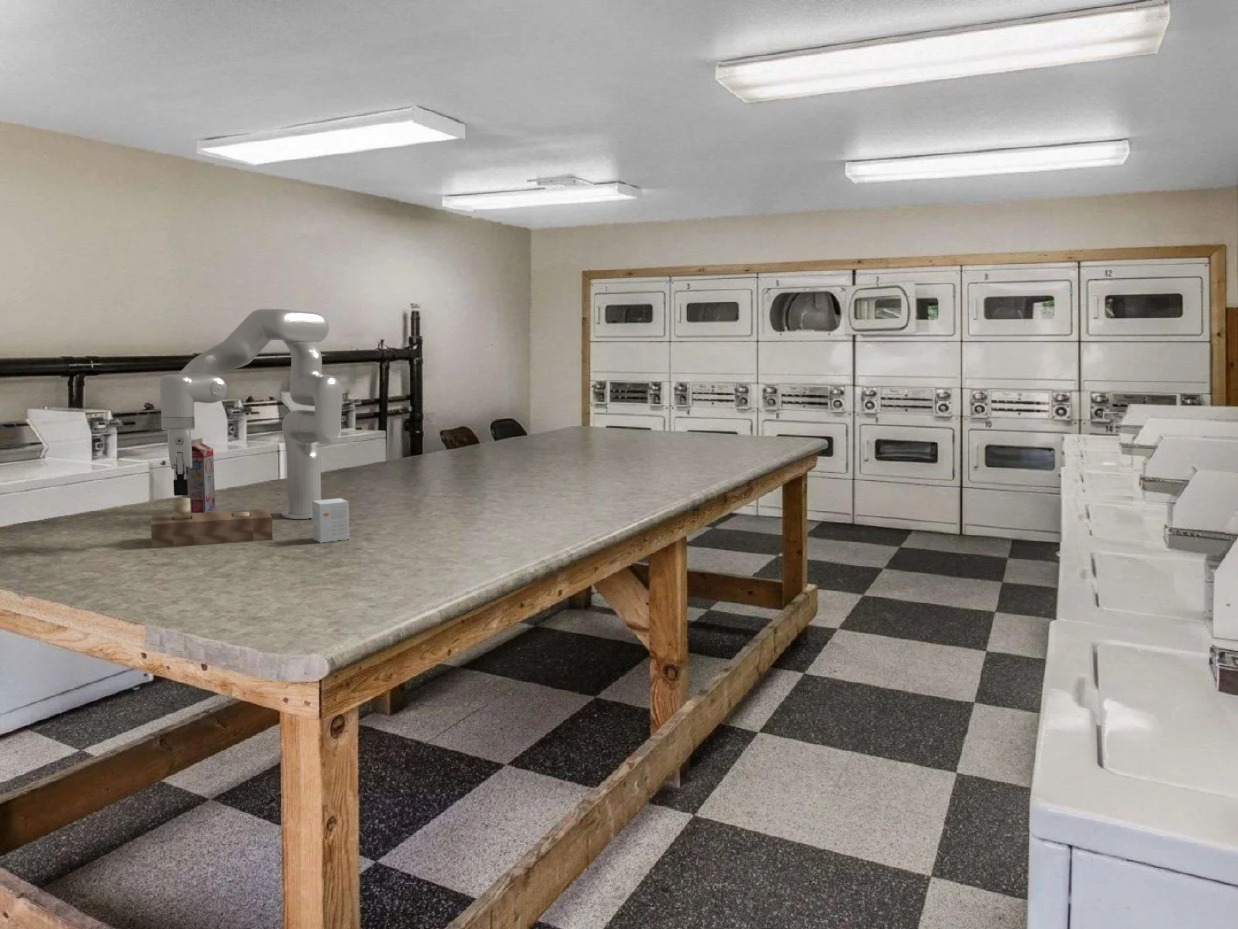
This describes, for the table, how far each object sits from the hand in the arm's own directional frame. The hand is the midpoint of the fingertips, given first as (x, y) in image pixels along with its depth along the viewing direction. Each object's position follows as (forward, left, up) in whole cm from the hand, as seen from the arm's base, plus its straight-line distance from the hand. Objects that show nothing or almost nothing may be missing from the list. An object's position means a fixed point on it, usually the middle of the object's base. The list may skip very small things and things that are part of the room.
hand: (180, 494), depth 223 cm
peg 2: (-14, 0, -12) cm, 18 cm away
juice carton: (-5, -40, -12) cm, 42 cm away
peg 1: (0, 0, -7) cm, 7 cm away
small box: (-35, +11, -12) cm, 39 cm away
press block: (-7, 0, -12) cm, 14 cm away
